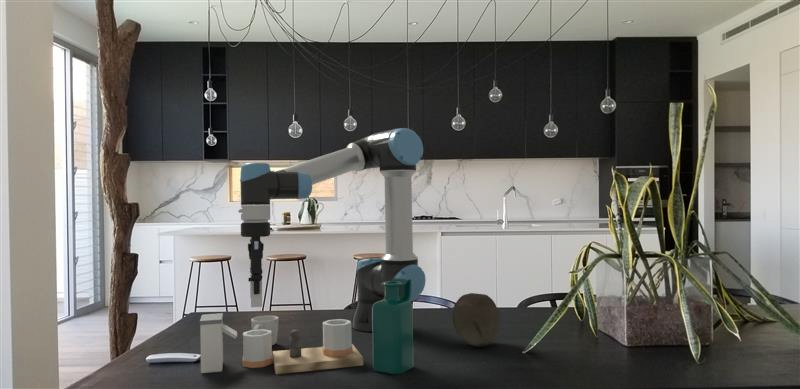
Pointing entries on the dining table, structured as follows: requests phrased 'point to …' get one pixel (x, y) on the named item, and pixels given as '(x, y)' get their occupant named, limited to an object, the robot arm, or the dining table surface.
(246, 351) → the sleeve
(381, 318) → the green square bottle
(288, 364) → the pin board
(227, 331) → the box
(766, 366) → the dining table surface
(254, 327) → the cup
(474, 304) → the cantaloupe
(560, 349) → the dining table surface
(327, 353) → the sleeve seated
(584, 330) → the dining table surface
